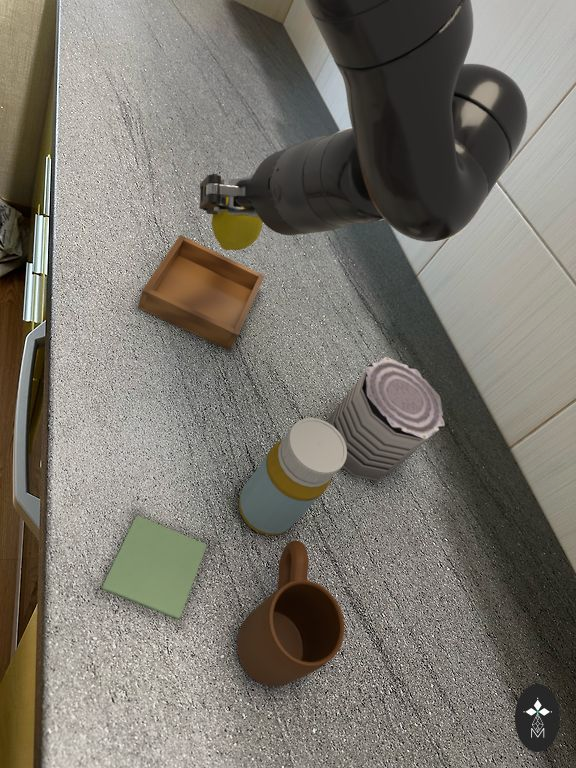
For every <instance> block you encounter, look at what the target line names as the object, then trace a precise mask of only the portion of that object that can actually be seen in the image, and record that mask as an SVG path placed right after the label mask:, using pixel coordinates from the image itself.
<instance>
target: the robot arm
mask: <svg viewBox="0 0 576 768" xmlns="http://www.w3.org/2000/svg"><path fill="white" fill-rule="evenodd" d="M304 2H305V4H306V6H307V8H308V11H309V12H310V14H311V17H312V19H313V20H314V22H315V24H316V26H317V29H318V31H319V32H320V34H321V37H322V38H323V41H324V43H325V45H326V47H327V50H328V51H329V53H330V55H331V57H332V59H333V61H334V63H335V65H336V67H337V69H338V71H339V73H340V75H341V77H342V79H343V82H344V88H345V94H346V102H347V109H348V114H349V121H350V126H351V127H347V128H344V129H342V130H340V131H337V132H334V133H331V134H329V135H324V136H323V135H322V136H317V137H312V138H309V139H307V140H305V141H301V142H299V143H296V144H294V145H291V146H289V147H286V148H284V149H281V150H279V151H276V152H274V153H271V154H270V155H268V156H266V157H265V158H264V160H262V161H261V163H260V164H259V165H258V166H257V167H256V170H255V171H254V173H253V174H251V175H250V176H249V177H241V178H240V177H239V178H232V179H230V180H229V181H228V183H227V184H225V179H224V178H222V176H221V175H219V174H218V173H211V174H208V175H207V176H206V177H205V178H204V179H203V180H202V181H201V182H200V183H199V191H200V192H199V205H198V206H199V209H200V210H202V211H204V212H206V214H207V215H213V214H218V213H222V212H228V213H229V214H230V215H235V216H252V217H257V218H260V219H261V220H262V222H263V223H262V224H264V225H265V226H266V227H267V228H268V229H269V230H271V231H273V232H274V233H277V234H280V235H284V236H297V235H298V236H299V235H308V234H315V233H325V232H330V231H335V230H338V229H341V228H343V227H347V226H356V225H363V224H364V225H365V224H370V223H375V222H379V221H383V220H384V221H385V222H386V223H387V224H388V225H389V226H390V227H392V228H393V229H394V230H395V231H396V232H398V233H399V234H401V235H403V236H405V237H407V238H409V239H412V240H416V241H418V242H423V243H424V242H425V243H434V242H435V243H436V242H442V241H446V240H448V239H451V238H453V237H455V236H456V235H458V234H460V233H461V232H463V230H465V229H466V228H467V226H468V225H469V224H470V223H471V222H472V221H473V220H474V218H475V217H476V216H477V214H478V213H479V211H480V210H481V208H482V206H483V205H484V203H485V201H486V200H487V198H488V196H489V195H490V193H491V191H492V190H493V189H494V187H495V185H496V183H497V182H498V180H499V179H500V177H501V175H502V174H503V172H504V171H505V169H507V166H508V165H509V163H510V161H511V160H512V158H513V157H514V155H515V153H516V152H517V150H518V149H519V147H520V146H521V142H522V140H523V138H524V135H525V131H526V128H527V124H528V107H527V101H526V98H525V96H524V93H523V91H522V90H521V88H520V86H519V85H518V83H517V82H516V81H515V80H514V79H513V78H511V76H509V75H508V74H506V73H505V72H503V71H502V70H500V69H498V68H496V67H493V66H490V65H486V64H480V63H469V62H468V63H465V62H466V60H467V57H468V54H469V52H470V48H471V45H472V42H473V37H474V25H475V23H474V22H475V21H474V13H473V5H472V0H304ZM227 197H229V198H228V204H227V205H226V198H227ZM242 207H244V208H245V209H242Z"/></svg>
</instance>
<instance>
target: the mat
mask: <svg viewBox="0 0 576 768" xmlns="http://www.w3.org/2000/svg"><path fill="white" fill-rule="evenodd" d="M207 546H208V544H206V543H204V542H203V541H199V540H197V539H195V538H193V537H190V536H187V535H186V534H182V533H181V532H179V531H176V530H173V529H171V528H169V527H166V526H163V525H161V524H159V523H156V522H154V521H151V520H149V519H147V518H145V517H142V516H139V515H137V514H136V515H135V518H134V520H133V522H132V524H131V526H130V528H129V530H128V533H127V534H126V537H125V539H124V541H123V543H122V545H121V547H120V549H119V551H118V553H117V555H116V558H115V559H114V561H113V563H112V565H111V568H110V570H109V571H108V573H107V576H106V578H105V580H104V582H103V584H102V586H101V590H104V591H106V592H109V593H111V594H113V595H116V596H118V597H121V598H123V599H126V600H128V601H130V602H133V603H136V604H138V605H141V606H143V607H146V608H149V609H151V610H153V611H155V612H159V613H161V614H164V615H166V616H169V617H171V618H173V619H176V620H180V619H181V616H182V614H183V611H184V609H185V606H186V603H187V600H188V597H189V595H190V593H191V590H192V587H193V584H194V581H195V579H196V576H197V573H198V570H199V568H200V565H201V563H202V560H203V557H204V555H205V551H206V549H207Z"/></svg>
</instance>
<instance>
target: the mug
mask: <svg viewBox="0 0 576 768" xmlns="http://www.w3.org/2000/svg"><path fill="white" fill-rule="evenodd" d="M278 562H279V563H278V570H277V571H278V572H277V589H276V590H274V591H273V592H272V593H271V594H269V595H268V596H267V597H266V598H265V599H264V600H262V602H260V603H259V604H258V605H257V606H256V607H255V608H254V609H253V610H252V611H251V612H250V613H249V614H247V616H246V617H245V619H244V620H243V622H242V624H241V625H240V628H239V631H238V633H237V635H238V636H237V643H236V645H237V653H238V654H237V655H238V658H239V660H240V662H241V665H242V667H243V670H245V672H246V673H247V674H248V675H249V676H250V677H251V678H252V679H253V680H254V681H256V682H258V683H259V684H262V685H264V686H268V687H275V688H276V687H284V686H286V685H289V684H292V683H293V682H296V681H297V680H300V679H302V678H304V677H306V676H308V675H309V674H312V673H314V672H316V671H318V670H319V669H321V668H323V667H324V666H325V665H327V664H328V663H329V662H330V661H332V659H334V657H335V656H336V655H337V654H338V653H339V651H340V649H341V647H342V645H343V642H344V637H345V618H344V615H343V611H342V609H341V606H340V605H339V603H338V601H337V600H336V598H335V597H334V595H333V594H332V593H331V592H330V591H329V590H328V589H327V588H325V586H323V585H321V584H319V583H317V582H315V581H311V580H308V573H309V554H308V550H307V547H306V545H305V544H304V543H303V542H302V541H300V540H290V541H289V542H288V543H287V544H285V546H284V548H283V550H282V552H281V555H280V558H279V561H278Z"/></svg>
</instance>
